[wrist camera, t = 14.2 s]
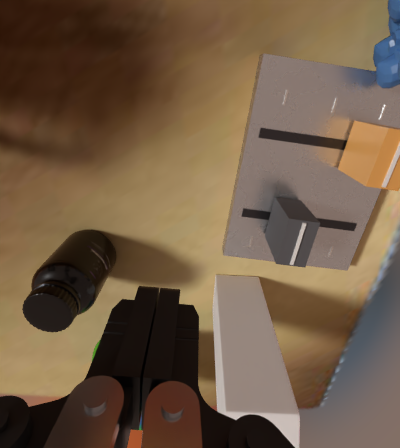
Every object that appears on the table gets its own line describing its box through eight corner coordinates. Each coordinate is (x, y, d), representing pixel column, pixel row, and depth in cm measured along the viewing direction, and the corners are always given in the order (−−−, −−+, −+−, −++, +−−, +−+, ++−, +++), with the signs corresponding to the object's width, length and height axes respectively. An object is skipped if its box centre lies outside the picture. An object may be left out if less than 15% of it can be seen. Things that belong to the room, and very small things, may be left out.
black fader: (274, 196, 33) (289, 219, 27) (301, 200, 33) (321, 223, 28) (264, 236, 35) (276, 264, 29) (289, 239, 35) (305, 268, 30)
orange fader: (354, 120, 30) (390, 128, 24) (383, 124, 30) (425, 133, 24) (337, 169, 32) (367, 187, 26) (364, 173, 32) (399, 191, 26)
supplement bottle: (124, 240, 38) (93, 302, 27) (107, 279, 41) (73, 349, 30) (72, 219, 37) (19, 274, 26) (58, 260, 40) (4, 327, 29)
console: (259, 55, 29) (263, 53, 27) (413, 80, 30) (427, 79, 28) (222, 247, 39) (223, 255, 37) (340, 262, 39) (347, 270, 37)
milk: (253, 309, 43) (298, 505, 23) (211, 308, 43) (221, 502, 23) (258, 275, 40) (315, 461, 20) (214, 273, 40) (228, 458, 20)
